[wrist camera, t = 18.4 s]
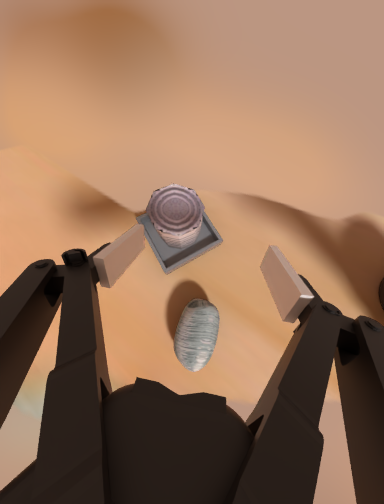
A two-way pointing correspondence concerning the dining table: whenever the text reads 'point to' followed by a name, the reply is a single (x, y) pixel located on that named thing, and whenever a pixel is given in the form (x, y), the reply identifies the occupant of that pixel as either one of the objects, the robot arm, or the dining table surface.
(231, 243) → the dining table surface
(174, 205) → the can
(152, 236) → the tray
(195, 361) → the spool
